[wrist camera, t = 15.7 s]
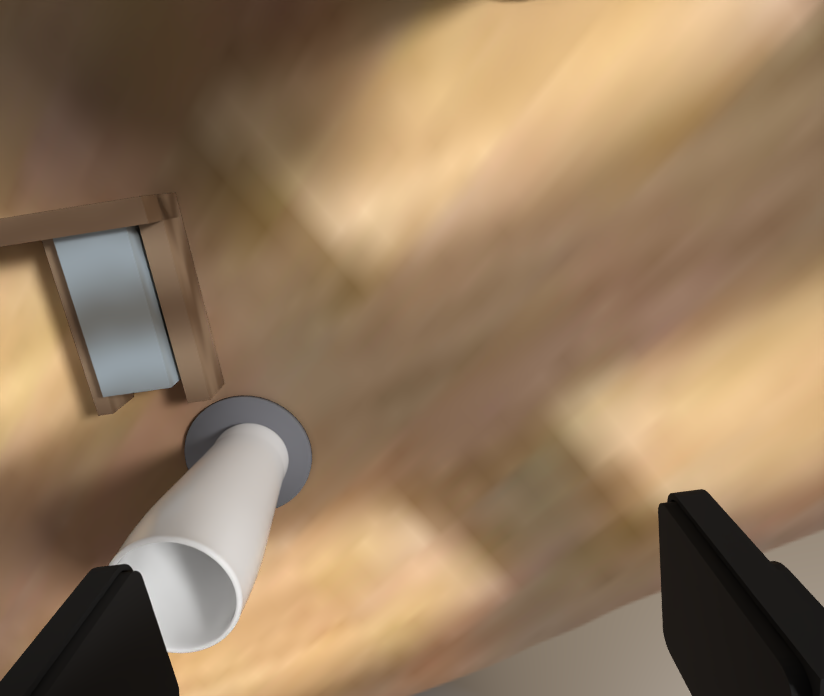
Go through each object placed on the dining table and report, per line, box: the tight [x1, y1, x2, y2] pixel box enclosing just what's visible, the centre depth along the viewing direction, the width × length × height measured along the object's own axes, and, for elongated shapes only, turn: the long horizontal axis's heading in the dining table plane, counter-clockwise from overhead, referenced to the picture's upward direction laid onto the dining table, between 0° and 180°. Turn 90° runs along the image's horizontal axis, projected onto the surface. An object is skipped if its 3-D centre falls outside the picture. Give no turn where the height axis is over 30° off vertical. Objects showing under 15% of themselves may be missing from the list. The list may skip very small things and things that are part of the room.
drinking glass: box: [109, 423, 289, 653], centre depth 36 cm, size 7×7×15 cm
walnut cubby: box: [0, 193, 224, 416], centre depth 38 cm, size 13×18×5 cm
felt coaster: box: [185, 396, 312, 508], centre depth 43 cm, size 9×9×1 cm
